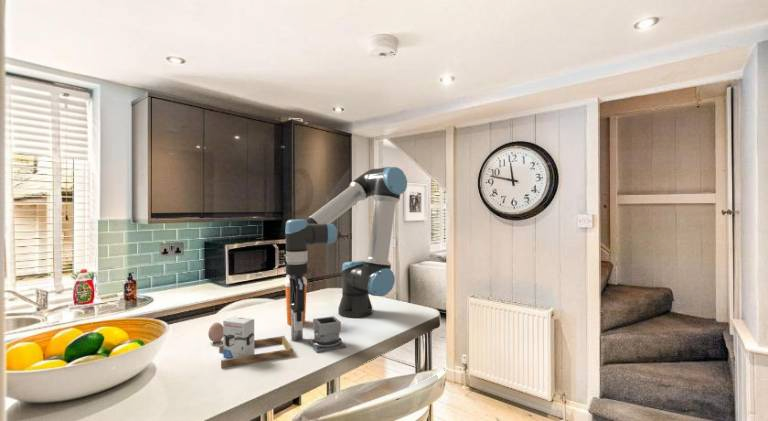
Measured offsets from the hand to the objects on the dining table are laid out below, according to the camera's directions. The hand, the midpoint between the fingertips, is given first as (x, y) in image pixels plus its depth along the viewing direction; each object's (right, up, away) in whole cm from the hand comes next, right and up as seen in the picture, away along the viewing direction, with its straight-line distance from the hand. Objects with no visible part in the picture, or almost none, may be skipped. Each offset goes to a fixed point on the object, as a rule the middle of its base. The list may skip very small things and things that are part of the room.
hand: (296, 327), depth 136 cm
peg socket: (+11, -4, -5) cm, 13 cm away
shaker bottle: (-5, -4, +19) cm, 20 cm away
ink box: (-15, -5, -15) cm, 22 cm away
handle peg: (0, -4, 0) cm, 4 cm away
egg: (-28, -4, -2) cm, 28 cm away
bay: (-11, -4, -13) cm, 17 cm away
